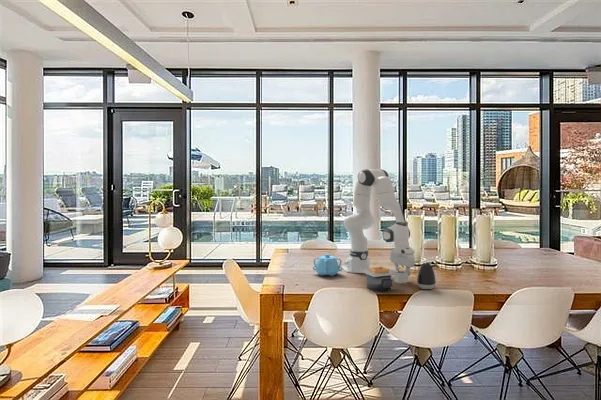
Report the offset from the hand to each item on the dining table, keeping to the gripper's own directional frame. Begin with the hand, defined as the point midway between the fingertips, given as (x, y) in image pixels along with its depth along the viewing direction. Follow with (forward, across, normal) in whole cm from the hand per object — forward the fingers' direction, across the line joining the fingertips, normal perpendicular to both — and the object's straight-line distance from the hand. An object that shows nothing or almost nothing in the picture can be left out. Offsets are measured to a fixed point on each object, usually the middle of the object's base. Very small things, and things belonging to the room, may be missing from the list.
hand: (402, 272), depth 259 cm
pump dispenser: (+7, +18, +4) cm, 20 cm away
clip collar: (-4, +6, -20) cm, 22 cm away
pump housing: (+6, -1, +1) cm, 6 cm away
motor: (+6, +6, -20) cm, 22 cm away
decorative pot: (+6, -38, -32) cm, 50 cm away
